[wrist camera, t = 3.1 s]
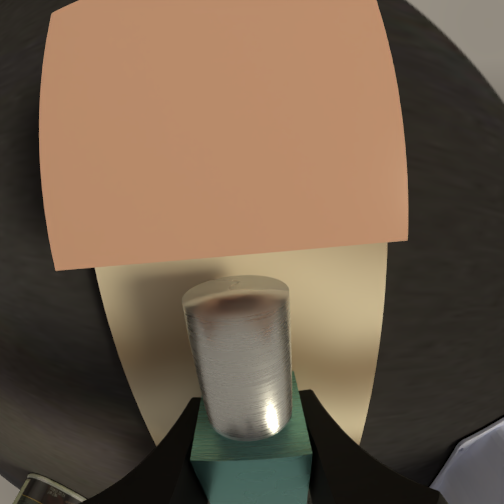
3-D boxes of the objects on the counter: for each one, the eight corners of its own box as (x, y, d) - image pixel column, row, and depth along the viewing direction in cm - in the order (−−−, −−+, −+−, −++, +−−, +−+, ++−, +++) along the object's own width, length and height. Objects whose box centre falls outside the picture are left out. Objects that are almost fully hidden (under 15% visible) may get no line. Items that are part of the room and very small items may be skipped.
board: (343, 478, 14) (346, 487, 13) (186, 489, 14) (185, 498, 13) (361, 58, 8) (369, 50, 7) (88, 87, 8) (78, 82, 8)
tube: (292, 500, 13) (299, 550, 9) (239, 503, 13) (238, 554, 9) (290, 264, 9) (318, 325, 5) (185, 273, 9) (147, 337, 5)
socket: (336, 210, 9) (407, 239, 5) (134, 229, 9) (55, 270, 5) (319, 45, 8) (365, -30, 3) (123, 68, 8) (52, 13, 3)
